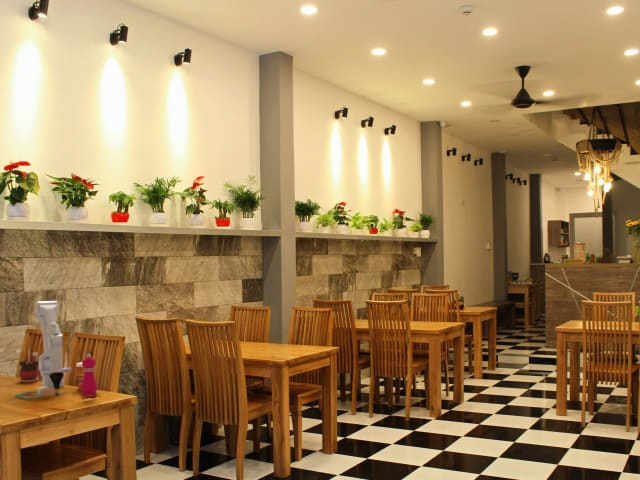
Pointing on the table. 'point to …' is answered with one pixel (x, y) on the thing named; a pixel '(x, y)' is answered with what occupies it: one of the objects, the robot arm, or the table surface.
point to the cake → (29, 368)
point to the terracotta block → (49, 391)
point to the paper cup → (80, 374)
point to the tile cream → (41, 390)
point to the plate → (48, 396)
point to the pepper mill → (89, 377)
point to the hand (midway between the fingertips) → (56, 389)
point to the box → (29, 397)
